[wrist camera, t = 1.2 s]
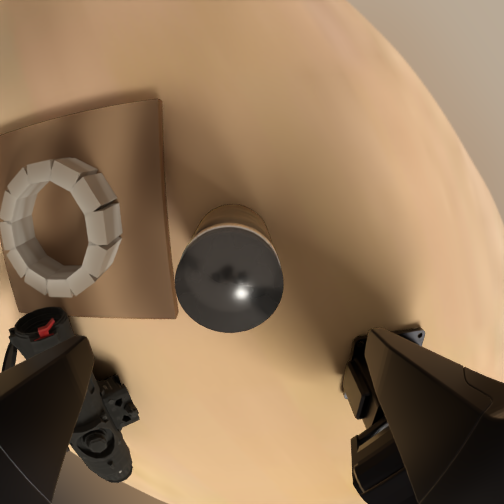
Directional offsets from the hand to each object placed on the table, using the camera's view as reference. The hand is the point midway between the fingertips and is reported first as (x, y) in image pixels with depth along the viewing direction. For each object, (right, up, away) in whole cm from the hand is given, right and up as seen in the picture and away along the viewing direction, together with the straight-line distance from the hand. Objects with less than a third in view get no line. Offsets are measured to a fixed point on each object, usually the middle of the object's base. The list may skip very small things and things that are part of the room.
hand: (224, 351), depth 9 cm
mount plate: (-11, +5, +10) cm, 16 cm away
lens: (0, +4, +11) cm, 11 cm away
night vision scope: (-13, -8, +15) cm, 21 cm away
